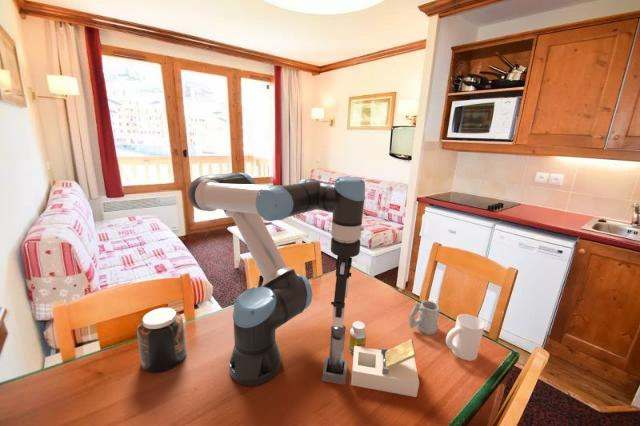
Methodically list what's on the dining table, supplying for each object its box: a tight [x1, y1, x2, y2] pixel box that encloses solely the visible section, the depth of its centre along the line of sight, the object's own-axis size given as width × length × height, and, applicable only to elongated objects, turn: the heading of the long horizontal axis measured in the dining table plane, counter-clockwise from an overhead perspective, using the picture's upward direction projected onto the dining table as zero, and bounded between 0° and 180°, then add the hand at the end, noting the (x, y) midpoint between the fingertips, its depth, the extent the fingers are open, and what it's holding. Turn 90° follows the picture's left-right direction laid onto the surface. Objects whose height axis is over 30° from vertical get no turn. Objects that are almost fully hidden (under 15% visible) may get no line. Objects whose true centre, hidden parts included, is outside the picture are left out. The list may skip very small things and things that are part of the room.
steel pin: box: [327, 324, 347, 375], centre depth 82 cm, size 4×4×16 cm
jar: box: [136, 307, 187, 374], centre depth 84 cm, size 12×12×15 cm
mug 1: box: [408, 300, 440, 336], centre depth 104 cm, size 8×12×12 cm, turn 105°
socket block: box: [350, 346, 420, 398], centre depth 83 cm, size 18×10×7 cm, turn 80°
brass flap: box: [383, 339, 417, 368], centre depth 81 cm, size 10×6×1 cm
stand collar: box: [321, 356, 348, 386], centre depth 84 cm, size 7×7×2 cm
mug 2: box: [445, 313, 485, 362], centre depth 93 cm, size 8×12×12 cm
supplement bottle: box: [348, 320, 367, 355], centre depth 93 cm, size 5×5×10 cm
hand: (340, 310), depth 78 cm, fingers open, 13 cm apart
